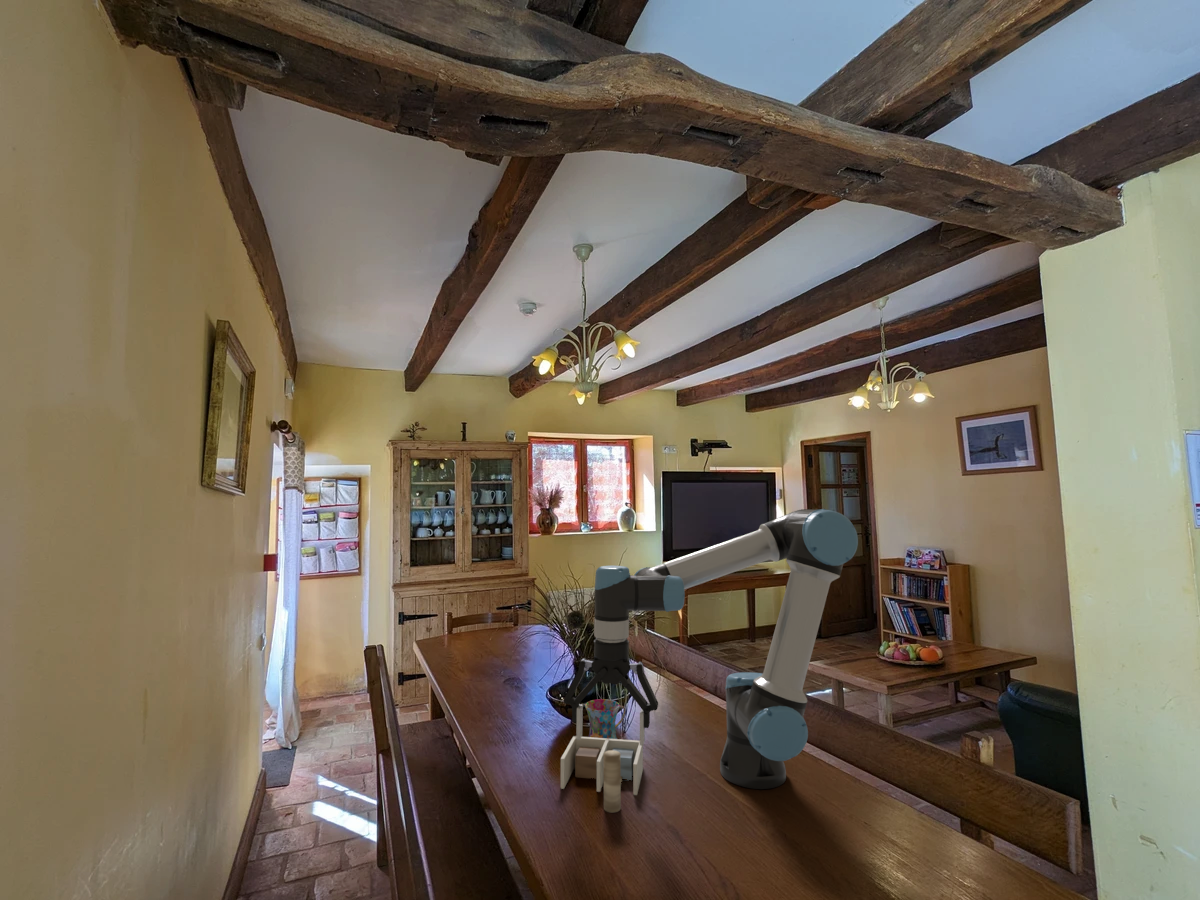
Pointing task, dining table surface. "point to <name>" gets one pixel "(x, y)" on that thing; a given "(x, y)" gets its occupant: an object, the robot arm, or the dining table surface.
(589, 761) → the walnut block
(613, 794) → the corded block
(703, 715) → the dining table surface
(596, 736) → the mug
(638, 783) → the lane rack
